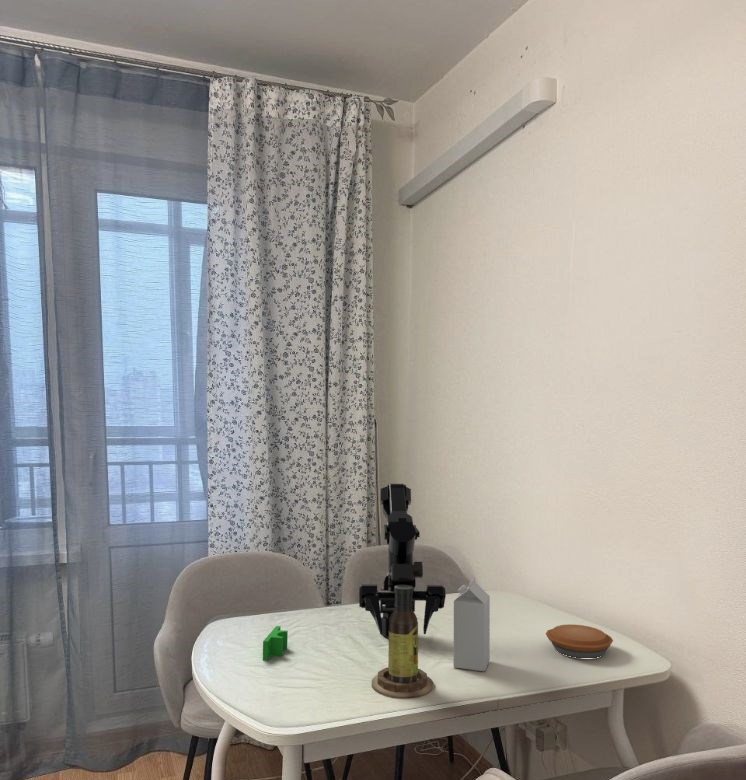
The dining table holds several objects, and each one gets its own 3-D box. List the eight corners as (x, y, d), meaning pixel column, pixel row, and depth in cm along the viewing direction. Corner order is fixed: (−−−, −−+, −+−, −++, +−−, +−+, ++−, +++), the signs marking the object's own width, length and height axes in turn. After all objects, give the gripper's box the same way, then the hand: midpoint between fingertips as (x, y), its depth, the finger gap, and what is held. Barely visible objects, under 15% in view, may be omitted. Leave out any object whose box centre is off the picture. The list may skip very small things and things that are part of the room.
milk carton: (489, 661, 152) (489, 578, 153) (484, 672, 145) (484, 586, 146) (459, 657, 154) (459, 576, 155) (453, 668, 147) (453, 583, 148)
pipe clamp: (278, 662, 151) (278, 642, 151) (262, 661, 151) (262, 641, 151) (290, 644, 162) (290, 626, 162) (275, 644, 162) (276, 625, 162)
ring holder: (413, 669, 147) (413, 660, 147) (445, 691, 135) (445, 681, 135) (361, 679, 141) (361, 669, 141) (389, 703, 129) (390, 692, 129)
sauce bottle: (419, 687, 135) (420, 590, 136) (389, 688, 135) (390, 590, 135) (415, 675, 141) (416, 582, 142) (386, 675, 141) (387, 582, 142)
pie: (626, 655, 157) (626, 634, 157) (582, 668, 148) (582, 645, 149) (575, 636, 170) (575, 617, 170) (532, 647, 162) (532, 626, 162)
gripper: (359, 547, 143) (358, 613, 132) (444, 548, 143) (450, 614, 132) (360, 574, 151) (358, 639, 139) (440, 575, 151) (446, 640, 139)
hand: (403, 633), depth 137 cm, fingers open, 9 cm apart
